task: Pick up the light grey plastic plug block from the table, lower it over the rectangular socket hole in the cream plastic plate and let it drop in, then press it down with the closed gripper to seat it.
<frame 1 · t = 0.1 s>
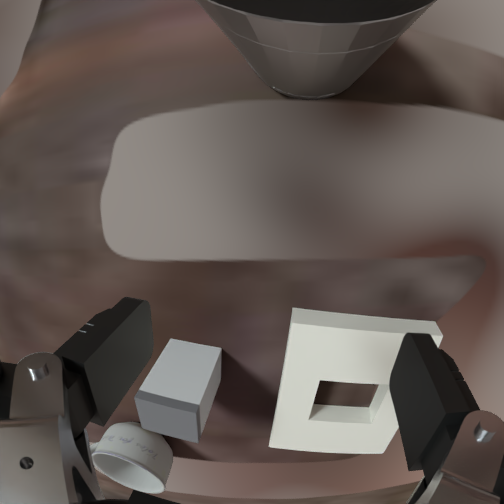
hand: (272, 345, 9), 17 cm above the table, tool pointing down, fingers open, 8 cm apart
teacup: (137, 432, 40), on the table
socket plate: (346, 387, 31), on the table
plug: (196, 359, 32), on the table
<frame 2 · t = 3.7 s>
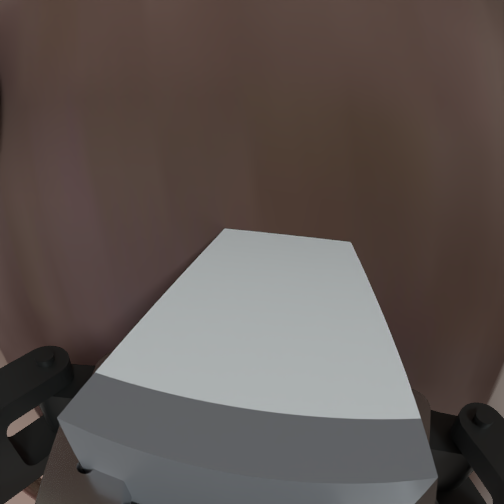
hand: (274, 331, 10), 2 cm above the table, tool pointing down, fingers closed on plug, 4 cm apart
plug: (280, 305, 12), on the table, touching gripper
when the fingers open (5 cm above the table, at t = 9.8 s): plug drops 3 cm, resting in socket plate.
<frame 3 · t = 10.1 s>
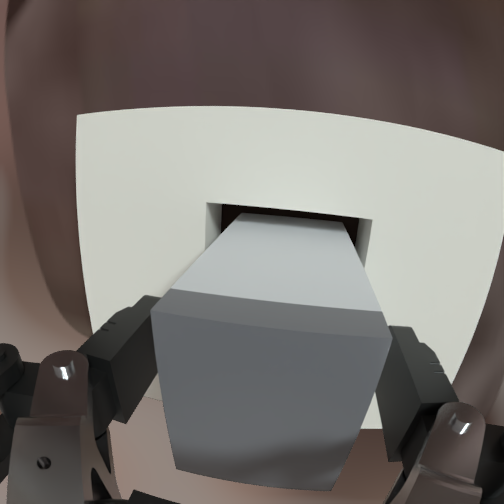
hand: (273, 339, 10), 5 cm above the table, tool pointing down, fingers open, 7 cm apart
socket plate: (284, 275, 15), on the table
plug: (286, 275, 15), resting in socket plate
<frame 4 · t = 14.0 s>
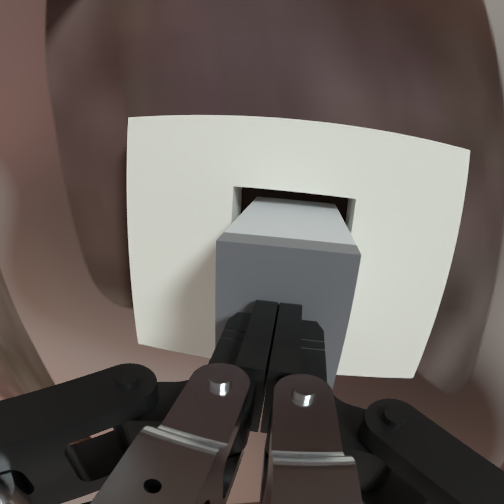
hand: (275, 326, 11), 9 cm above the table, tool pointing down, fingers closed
socket plate: (290, 245, 19), on the table
plug: (292, 245, 19), resting in socket plate, touching gripper
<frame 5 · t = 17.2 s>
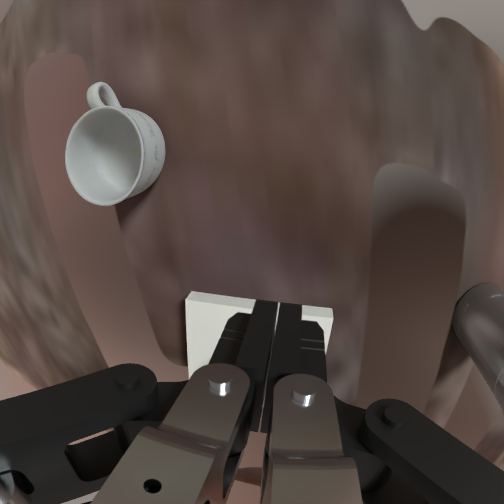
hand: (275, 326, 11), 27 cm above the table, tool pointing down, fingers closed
teacup: (135, 140, 37), on the table
socket plate: (256, 345, 43), on the table
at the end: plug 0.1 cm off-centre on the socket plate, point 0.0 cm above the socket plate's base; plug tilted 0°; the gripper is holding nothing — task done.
